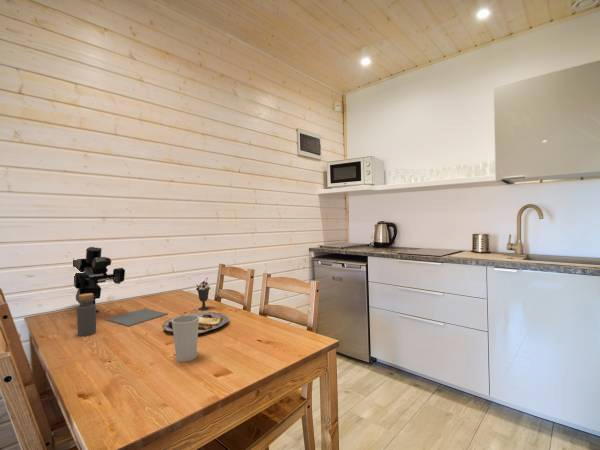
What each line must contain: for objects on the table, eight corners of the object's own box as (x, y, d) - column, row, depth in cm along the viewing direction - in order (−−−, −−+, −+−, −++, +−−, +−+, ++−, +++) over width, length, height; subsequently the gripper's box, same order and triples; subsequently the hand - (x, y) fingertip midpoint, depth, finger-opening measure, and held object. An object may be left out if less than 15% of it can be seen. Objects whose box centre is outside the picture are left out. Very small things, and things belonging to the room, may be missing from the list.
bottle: (99, 330, 119) (98, 292, 118) (88, 336, 113) (87, 296, 113) (86, 330, 119) (85, 292, 119) (73, 336, 113) (72, 296, 113)
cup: (183, 365, 89) (182, 324, 89) (167, 359, 93) (166, 320, 93) (205, 354, 96) (204, 317, 95) (188, 349, 100) (188, 313, 100)
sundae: (213, 307, 148) (213, 277, 148) (204, 311, 142) (203, 279, 142) (203, 306, 151) (202, 276, 150) (193, 310, 144) (192, 278, 144)
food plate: (149, 333, 115) (149, 324, 115) (187, 315, 137) (187, 307, 137) (207, 341, 108) (207, 331, 108) (237, 320, 130) (237, 312, 130)
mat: (105, 319, 132) (105, 318, 132) (144, 309, 147) (144, 308, 147) (128, 326, 123) (128, 325, 123) (167, 314, 138) (167, 313, 138)
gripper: (70, 257, 128) (82, 269, 119) (118, 253, 143) (132, 263, 133) (69, 282, 130) (81, 295, 120) (117, 275, 144) (130, 287, 135)
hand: (107, 284), depth 127 cm, fingers open, 9 cm apart
